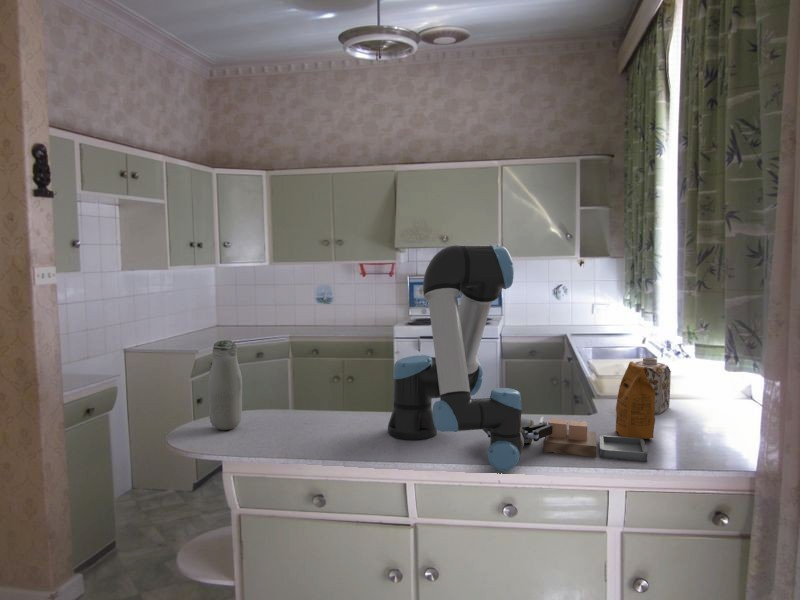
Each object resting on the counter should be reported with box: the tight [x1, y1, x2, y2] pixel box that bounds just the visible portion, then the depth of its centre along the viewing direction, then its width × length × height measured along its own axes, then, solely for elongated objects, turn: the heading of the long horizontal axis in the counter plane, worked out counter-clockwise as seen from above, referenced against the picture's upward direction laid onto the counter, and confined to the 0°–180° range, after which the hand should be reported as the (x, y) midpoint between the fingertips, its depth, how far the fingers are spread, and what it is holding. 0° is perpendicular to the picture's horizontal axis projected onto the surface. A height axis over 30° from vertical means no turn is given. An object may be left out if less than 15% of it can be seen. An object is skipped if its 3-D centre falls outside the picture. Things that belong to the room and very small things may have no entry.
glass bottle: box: [207, 339, 243, 431], centre depth 199 cm, size 10×10×28 cm
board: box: [543, 429, 597, 458], centre depth 183 cm, size 14×14×3 cm
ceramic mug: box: [521, 417, 535, 445], centre depth 188 cm, size 11×8×8 cm
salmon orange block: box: [568, 420, 588, 441], centre depth 182 cm, size 5×5×4 cm
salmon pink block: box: [547, 417, 569, 438], centre depth 184 cm, size 5×5×4 cm
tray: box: [599, 434, 648, 462], centre depth 179 cm, size 12×14×2 cm
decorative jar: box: [633, 357, 672, 415], centre depth 225 cm, size 12×12×18 cm
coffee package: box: [615, 361, 656, 440], centre depth 193 cm, size 10×12×22 cm
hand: (519, 419), depth 190 cm, fingers open, 13 cm apart
